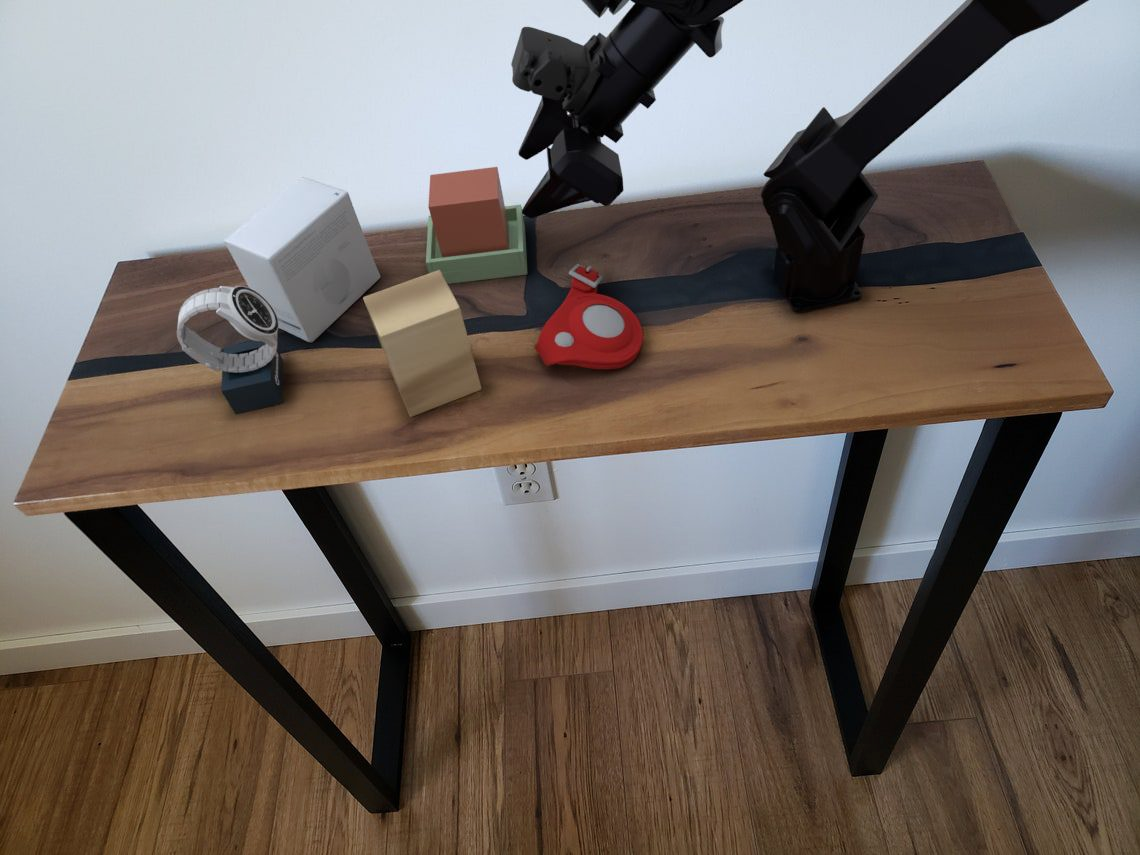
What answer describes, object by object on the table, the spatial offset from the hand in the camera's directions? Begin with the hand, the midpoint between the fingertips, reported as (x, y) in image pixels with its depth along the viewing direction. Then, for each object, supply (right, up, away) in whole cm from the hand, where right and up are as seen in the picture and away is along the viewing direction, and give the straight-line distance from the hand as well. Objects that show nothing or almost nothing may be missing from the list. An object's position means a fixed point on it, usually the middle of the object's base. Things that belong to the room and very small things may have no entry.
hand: (523, 184), depth 81 cm
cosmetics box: (-20, -10, +5) cm, 23 cm away
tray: (-5, -5, +6) cm, 10 cm away
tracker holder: (+7, -14, -2) cm, 16 cm away
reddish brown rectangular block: (-5, -5, +5) cm, 9 cm away
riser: (-8, -19, -4) cm, 21 cm away
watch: (-24, -19, -2) cm, 31 cm away
